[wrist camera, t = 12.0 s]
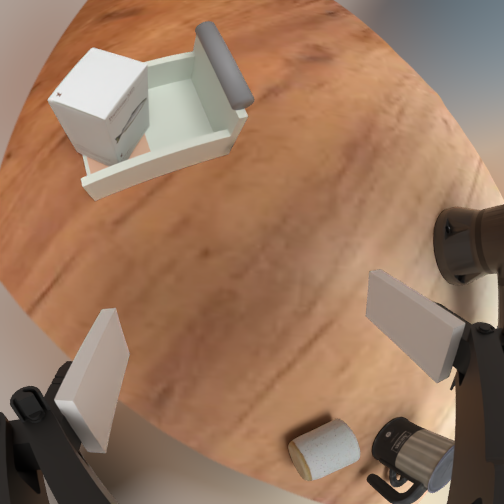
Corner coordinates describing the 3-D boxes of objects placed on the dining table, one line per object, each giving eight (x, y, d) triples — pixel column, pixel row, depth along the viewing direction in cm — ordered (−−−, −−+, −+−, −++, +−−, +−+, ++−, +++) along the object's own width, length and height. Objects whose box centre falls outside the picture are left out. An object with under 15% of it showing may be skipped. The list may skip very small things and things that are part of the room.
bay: (199, 74, 37) (214, 15, 25) (233, 152, 37) (261, 103, 26) (75, 112, 32) (52, 58, 20) (94, 201, 32) (64, 164, 20)
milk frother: (388, 412, 41) (451, 440, 26) (432, 423, 44) (485, 443, 29) (348, 479, 38) (398, 520, 23) (398, 480, 41) (445, 509, 26)
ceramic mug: (280, 434, 35) (303, 461, 28) (330, 410, 38) (359, 431, 30) (296, 479, 35) (317, 506, 28) (340, 457, 38) (366, 479, 30)
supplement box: (122, 174, 32) (103, 122, 20) (75, 152, 31) (43, 99, 19) (152, 126, 34) (150, 63, 22) (106, 107, 32) (91, 45, 20)
